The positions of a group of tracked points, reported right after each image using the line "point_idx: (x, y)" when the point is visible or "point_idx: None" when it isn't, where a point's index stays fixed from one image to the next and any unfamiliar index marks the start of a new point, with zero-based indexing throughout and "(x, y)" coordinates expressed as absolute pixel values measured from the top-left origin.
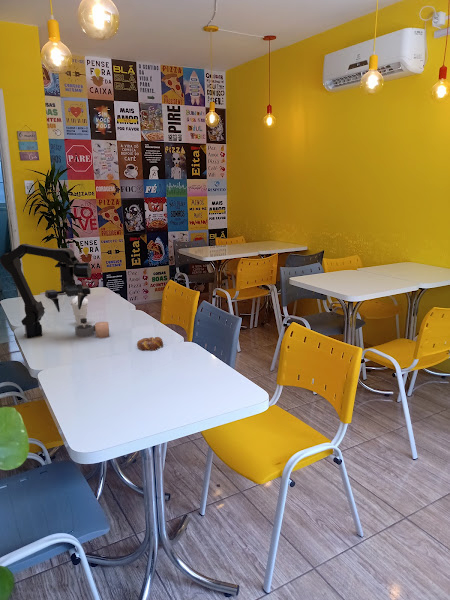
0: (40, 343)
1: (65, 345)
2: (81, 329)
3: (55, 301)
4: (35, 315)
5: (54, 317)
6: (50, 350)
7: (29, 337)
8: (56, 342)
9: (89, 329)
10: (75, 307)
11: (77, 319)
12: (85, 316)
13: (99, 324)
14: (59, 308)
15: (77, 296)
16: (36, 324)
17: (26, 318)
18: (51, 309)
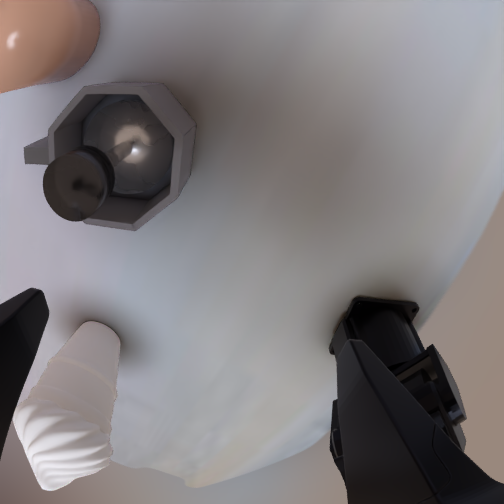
0: (440, 182)
1: (364, 12)
2: (154, 102)
3: (496, 488)
4: (448, 392)
5: (181, 435)
6: (464, 22)
7: (412, 304)
8: (376, 118)
9: (95, 85)
10: (92, 418)
11: (108, 355)
12: (63, 348)
13: (18, 16)
14: (373, 382)
15: (59, 475)
16: (393, 358)
17: (457, 391)
18: (166, 465)
